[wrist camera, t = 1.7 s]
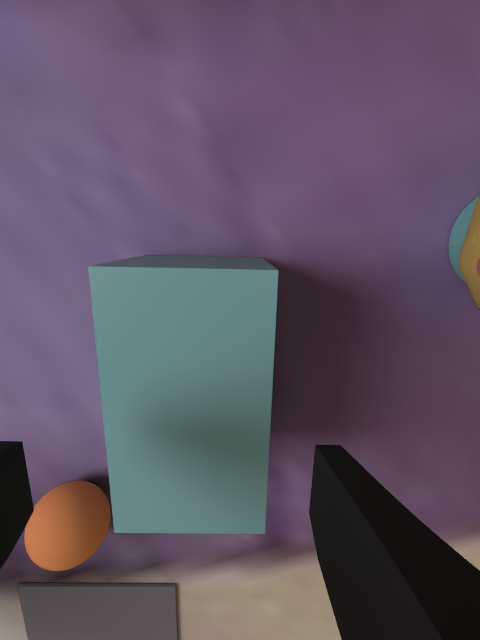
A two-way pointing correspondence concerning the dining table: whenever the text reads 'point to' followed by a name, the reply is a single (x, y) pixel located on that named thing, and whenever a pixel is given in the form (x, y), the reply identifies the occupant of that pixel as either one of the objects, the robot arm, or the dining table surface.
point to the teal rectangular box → (186, 390)
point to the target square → (99, 611)
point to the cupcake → (467, 247)
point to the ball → (67, 525)
